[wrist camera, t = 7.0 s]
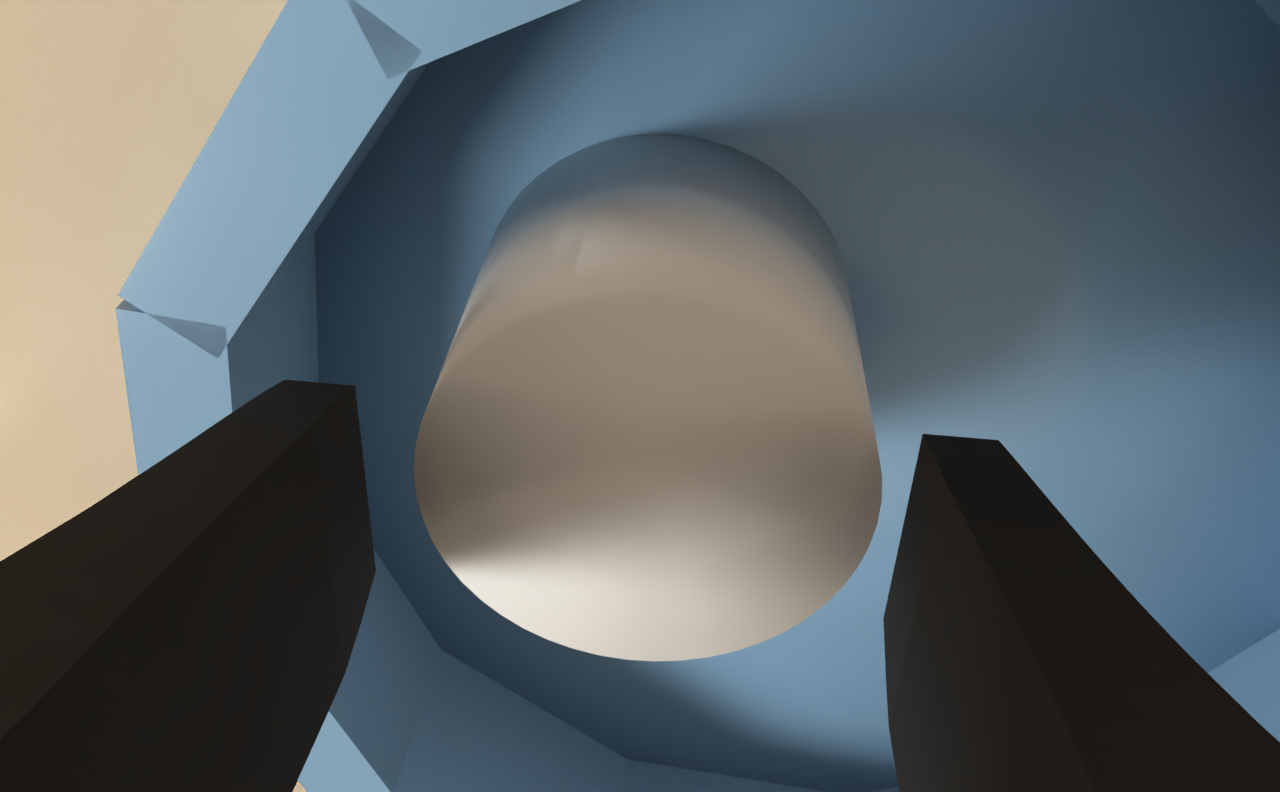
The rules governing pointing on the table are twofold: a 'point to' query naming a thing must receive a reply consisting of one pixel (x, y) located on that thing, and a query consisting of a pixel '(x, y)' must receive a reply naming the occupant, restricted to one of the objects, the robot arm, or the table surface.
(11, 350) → the table surface
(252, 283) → the bowl
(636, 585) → the off-white rounded cylinder
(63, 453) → the table surface
